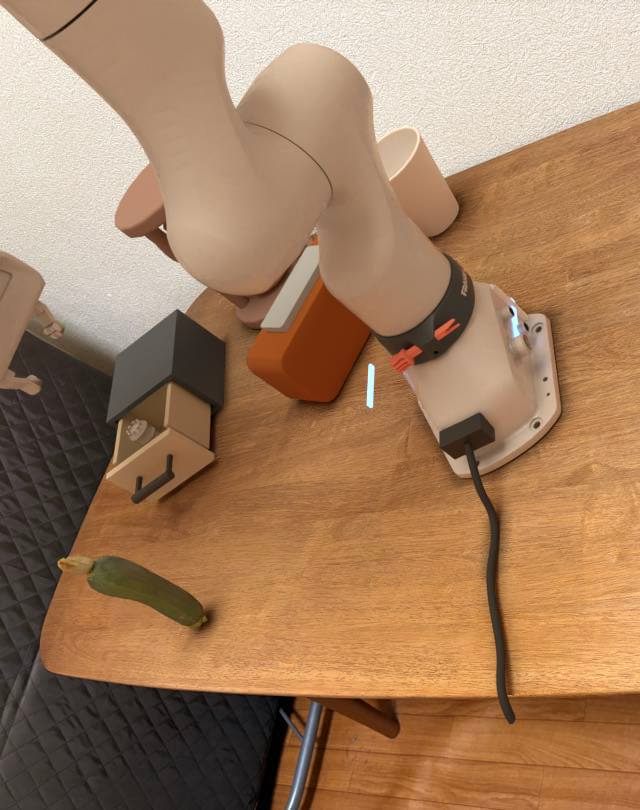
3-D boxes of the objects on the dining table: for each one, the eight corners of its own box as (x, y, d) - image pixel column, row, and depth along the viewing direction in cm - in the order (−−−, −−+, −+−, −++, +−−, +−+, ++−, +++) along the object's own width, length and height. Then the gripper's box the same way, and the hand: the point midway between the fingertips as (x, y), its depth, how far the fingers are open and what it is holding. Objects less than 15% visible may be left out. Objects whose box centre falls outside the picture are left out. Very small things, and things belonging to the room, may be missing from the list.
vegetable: (199, 604, 105) (52, 541, 92) (224, 594, 104) (78, 528, 90) (192, 637, 103) (40, 578, 89) (217, 628, 101) (66, 565, 87)
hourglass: (241, 348, 134) (104, 249, 117) (246, 281, 146) (122, 182, 129) (325, 291, 129) (194, 179, 112) (323, 226, 141) (205, 115, 124)
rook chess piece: (166, 472, 123) (119, 446, 117) (170, 448, 126) (124, 422, 120) (188, 458, 121) (141, 431, 116) (191, 435, 124) (146, 408, 119)
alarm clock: (370, 266, 126) (317, 216, 118) (408, 264, 121) (354, 211, 113) (295, 404, 117) (232, 360, 110) (331, 408, 112) (268, 362, 104)
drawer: (213, 483, 117) (167, 457, 111) (150, 527, 119) (101, 504, 114) (216, 391, 130) (174, 364, 124) (159, 433, 133) (116, 408, 127)
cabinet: (223, 407, 128) (171, 373, 121) (159, 453, 131) (105, 422, 124) (224, 342, 139) (177, 308, 132) (166, 386, 142) (116, 355, 135)
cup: (446, 252, 117) (388, 191, 108) (394, 248, 125) (337, 192, 116) (486, 186, 120) (433, 122, 112) (434, 187, 128) (381, 127, 120)
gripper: (-81, 351, 90) (40, 415, 100) (-14, 227, 103) (88, 294, 112) (-113, 374, 93) (7, 434, 102) (-44, 250, 105) (58, 314, 115)
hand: (50, 360), depth 107 cm, fingers open, 8 cm apart
